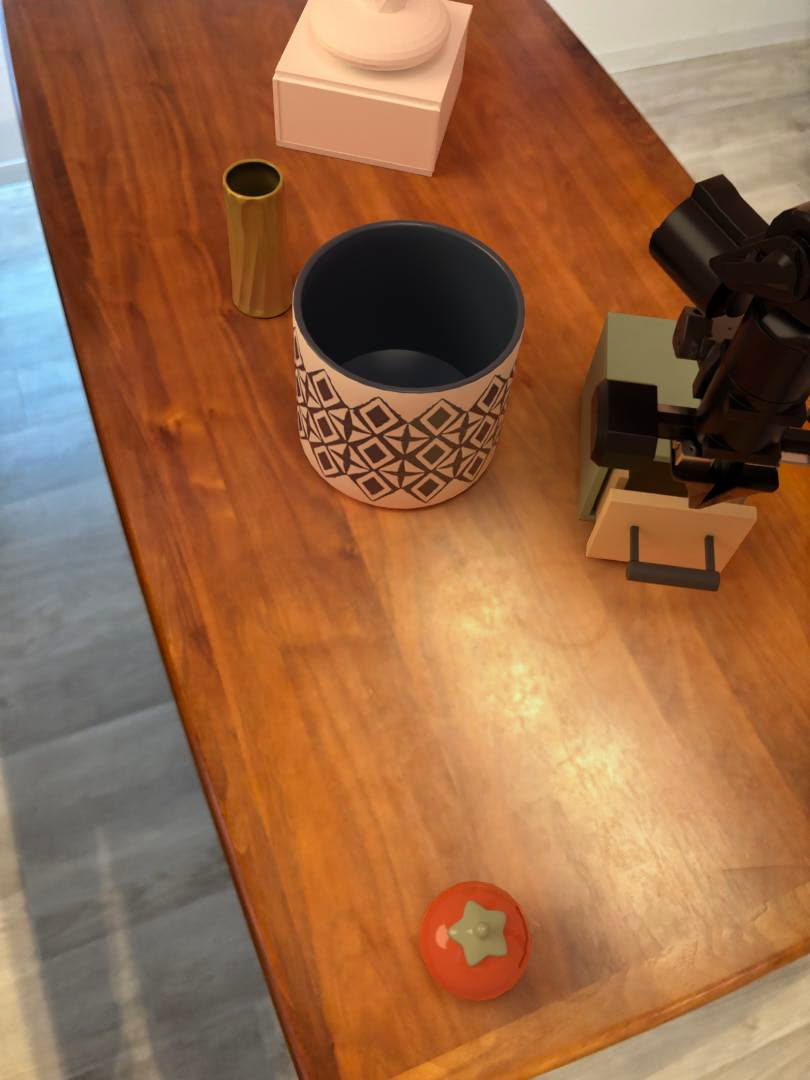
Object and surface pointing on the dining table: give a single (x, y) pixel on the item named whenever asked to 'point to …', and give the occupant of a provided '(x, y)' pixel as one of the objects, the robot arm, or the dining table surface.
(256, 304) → the vase
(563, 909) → the dining table surface
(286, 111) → the pink lidded box
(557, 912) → the dining table surface
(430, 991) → the dining table surface
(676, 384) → the cabinet
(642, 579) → the drawer
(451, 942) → the tomato
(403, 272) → the planter
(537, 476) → the dining table surface
